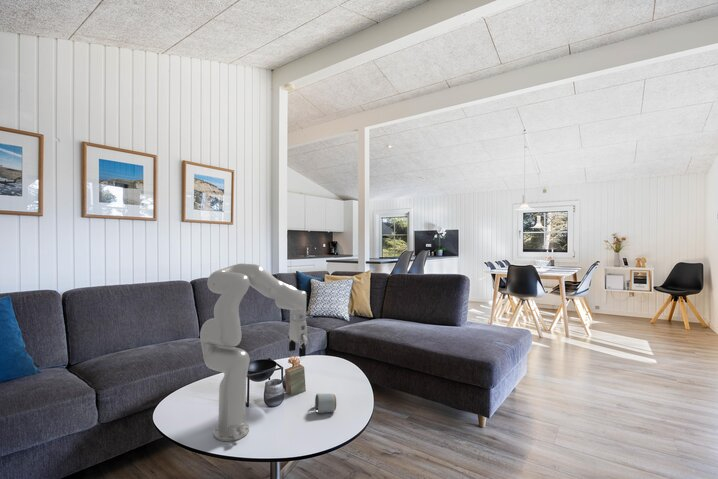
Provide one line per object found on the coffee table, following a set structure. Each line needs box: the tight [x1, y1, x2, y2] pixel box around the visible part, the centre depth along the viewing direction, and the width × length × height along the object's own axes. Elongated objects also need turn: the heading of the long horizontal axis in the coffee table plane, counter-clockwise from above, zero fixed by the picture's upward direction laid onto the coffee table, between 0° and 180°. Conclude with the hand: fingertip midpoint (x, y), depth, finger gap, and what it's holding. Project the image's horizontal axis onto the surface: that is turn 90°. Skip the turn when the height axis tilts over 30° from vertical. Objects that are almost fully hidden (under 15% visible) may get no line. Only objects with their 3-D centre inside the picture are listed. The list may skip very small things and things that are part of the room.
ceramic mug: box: [314, 393, 337, 414], centre depth 158 cm, size 11×8×8 cm
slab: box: [284, 364, 307, 396], centre depth 173 cm, size 4×8×12 cm, turn 128°
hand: (297, 353), depth 174 cm, fingers open, 9 cm apart
